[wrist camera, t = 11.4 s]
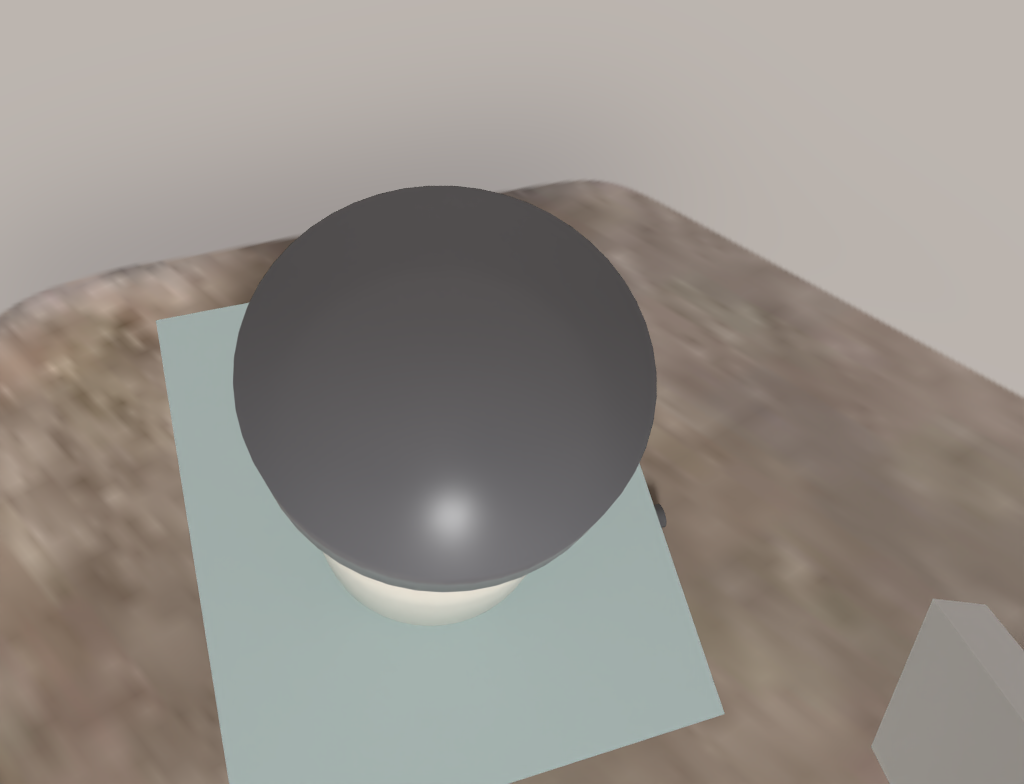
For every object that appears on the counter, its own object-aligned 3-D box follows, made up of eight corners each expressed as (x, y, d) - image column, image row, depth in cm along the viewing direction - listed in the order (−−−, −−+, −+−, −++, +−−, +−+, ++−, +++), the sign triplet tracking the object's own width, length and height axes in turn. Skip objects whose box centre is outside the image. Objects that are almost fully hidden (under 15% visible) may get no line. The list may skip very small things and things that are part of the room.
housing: (514, 392, 38) (564, 242, 26) (610, 715, 34) (724, 713, 22) (240, 454, 36) (155, 320, 24) (306, 810, 31) (242, 868, 19)
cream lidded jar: (518, 371, 24) (587, 157, 15) (585, 599, 22) (714, 516, 13) (284, 421, 23) (202, 221, 14) (333, 669, 21) (274, 631, 12)
